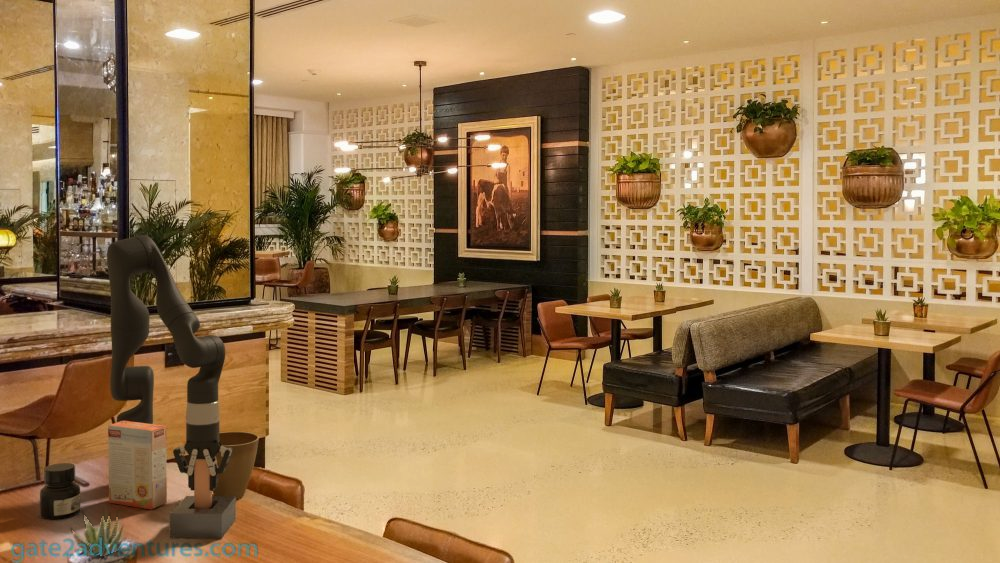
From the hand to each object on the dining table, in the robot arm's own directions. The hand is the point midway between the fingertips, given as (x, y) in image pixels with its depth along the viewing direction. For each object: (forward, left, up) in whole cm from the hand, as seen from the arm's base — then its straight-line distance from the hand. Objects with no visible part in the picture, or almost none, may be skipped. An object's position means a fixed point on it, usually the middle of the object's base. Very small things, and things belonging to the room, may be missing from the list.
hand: (203, 489), depth 199 cm
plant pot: (-23, 0, -10) cm, 25 cm away
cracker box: (-17, -22, -10) cm, 30 cm away
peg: (0, 0, -6) cm, 6 cm away
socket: (0, 0, -10) cm, 10 cm away
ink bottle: (-9, -38, -10) cm, 40 cm away
